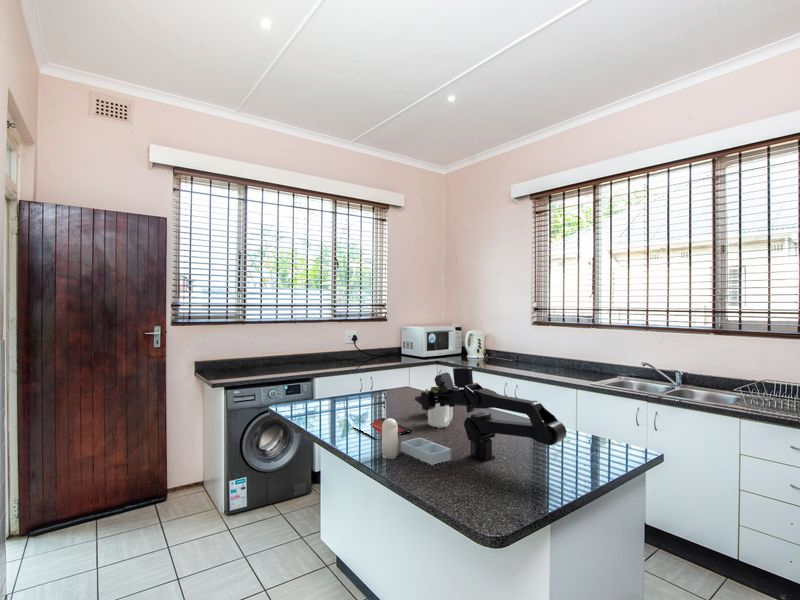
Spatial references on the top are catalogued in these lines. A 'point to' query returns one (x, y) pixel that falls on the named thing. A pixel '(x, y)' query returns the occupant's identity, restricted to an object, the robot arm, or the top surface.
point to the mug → (440, 416)
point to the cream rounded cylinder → (390, 438)
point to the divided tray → (426, 450)
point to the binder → (378, 423)
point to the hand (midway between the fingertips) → (423, 396)
